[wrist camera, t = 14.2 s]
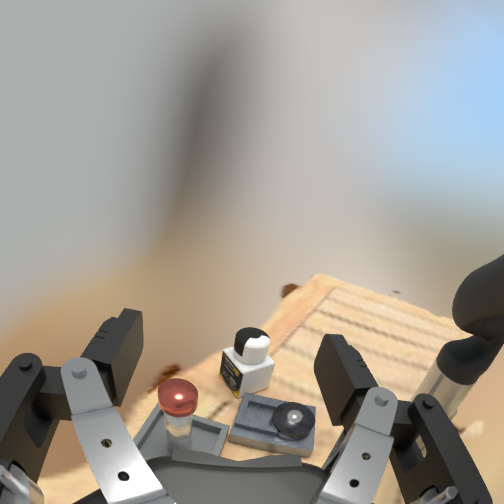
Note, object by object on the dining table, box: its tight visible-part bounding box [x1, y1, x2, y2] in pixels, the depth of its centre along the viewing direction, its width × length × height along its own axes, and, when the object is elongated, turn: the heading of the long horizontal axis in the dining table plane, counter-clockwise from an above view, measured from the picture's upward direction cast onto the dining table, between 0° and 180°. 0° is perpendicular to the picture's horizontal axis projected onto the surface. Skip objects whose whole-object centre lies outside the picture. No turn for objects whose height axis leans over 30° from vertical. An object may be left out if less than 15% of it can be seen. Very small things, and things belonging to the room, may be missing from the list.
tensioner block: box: [229, 392, 316, 457], centre depth 38 cm, size 13×10×5 cm
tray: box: [133, 402, 229, 461], centre depth 32 cm, size 12×12×2 cm
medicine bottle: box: [220, 327, 275, 398], centre depth 48 cm, size 7×7×12 cm
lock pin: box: [158, 378, 198, 454], centre depth 30 cm, size 5×5×14 cm
